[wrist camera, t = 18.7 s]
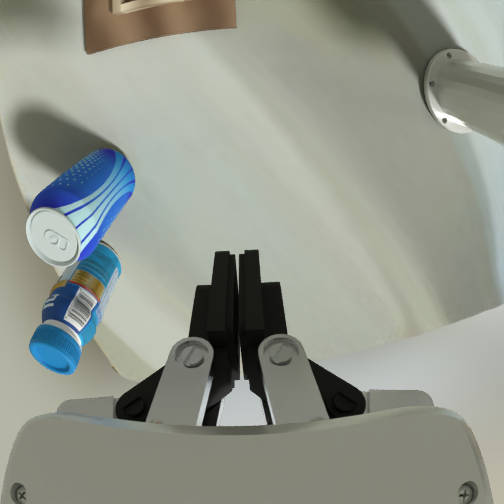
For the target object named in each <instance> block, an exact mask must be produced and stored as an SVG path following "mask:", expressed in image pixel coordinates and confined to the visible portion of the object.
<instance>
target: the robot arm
mask: <svg viewBox="0 0 504 504" xmlns="http://www.w3.org/2000/svg"><path fill="white" fill-rule="evenodd" d="M429 83H430V84H429ZM424 94H425V99H426V103H427V105H428V108H429V110H430V112H431V114H432V116H433V117H434V119H435V120H436V121H437V122H438V123H439V124H440V125H441V126H442V127H444V128H445V129H447V130H449V131H451V132H454V133H458V134H466V133H469V132H472V131H476V132H478V133H480V134H482V135H484V136H486V137H488V138H490V139H492V140H494V141H495V142H497V143H499V144H501V145H503V146H504V67H499V66H494V65H489V64H484V63H479V62H478V61H477V60H476V58H475V57H473V56H472V55H471V54H469V53H467V52H465V51H463V50H460V49H444V50H442V51H440V52H438V53H437V54H436V55H434V56H433V58H432V59H431V60H430V62H429V64H428V66H427V68H426V72H425V76H424ZM240 347H241V356H242V364H243V373H244V379H245V380H249V382H250V383H249V384H250V390H251V391H252V392H253V393H255V394H256V395H257V396H259V397H260V402H261V406H262V410H263V415H264V419H265V423H266V425H262V426H220V421H221V416H222V411H223V406H224V397H225V396H226V395H227V394H229V393H230V392H231V391H232V388H234V381H235V380H240ZM0 504H493V498H492V494H491V489H490V484H489V480H488V476H487V471H486V468H485V464H484V461H483V458H482V455H481V452H480V449H479V446H478V444H477V441H476V439H475V436H474V435H473V432H472V430H471V429H470V427H469V425H468V423H467V422H466V421H465V419H464V418H463V417H462V416H461V415H460V414H458V413H457V412H454V411H452V410H449V409H445V408H440V407H435V406H434V404H433V401H432V398H431V397H430V396H429V395H428V394H427V393H425V392H423V391H419V390H369V392H361V391H359V390H358V389H357V388H356V387H354V386H352V385H351V384H349V383H347V382H346V381H344V380H342V379H341V378H339V377H337V376H336V375H334V374H332V373H331V372H329V371H327V370H326V369H324V368H323V367H321V366H319V365H318V364H316V363H314V362H313V361H311V360H310V359H308V358H307V356H306V353H305V351H304V348H303V346H302V344H301V342H300V341H299V340H297V339H296V338H295V337H293V336H290V335H288V334H287V327H286V320H285V313H284V306H283V300H282V293H281V286H280V282H267V283H261V277H260V264H259V251H258V250H245V254H239V293H238V282H237V271H236V260H235V254H233V255H230V252H229V251H218V252H215V257H214V266H213V274H212V283H211V285H197V287H196V292H195V298H194V304H193V311H192V317H191V324H190V330H189V337H188V338H184V339H182V340H180V341H178V342H177V343H176V344H175V345H174V346H173V347H172V349H171V351H170V354H169V356H168V359H167V362H166V365H165V366H163V367H162V368H160V369H159V370H158V371H156V372H155V373H153V374H152V375H150V376H149V377H148V378H146V379H145V380H143V381H142V382H140V383H139V384H138V385H136V386H135V387H133V388H132V389H130V390H129V391H127V392H126V393H124V394H123V395H122V396H121V397H120V398H114V397H113V396H110V397H99V398H87V399H74V400H73V399H72V400H67V401H65V402H63V403H62V404H61V405H60V406H59V407H58V409H57V413H49V414H44V415H40V416H37V417H34V418H32V419H30V420H28V421H27V422H26V423H25V424H24V425H23V426H22V428H21V429H20V431H19V432H18V434H17V437H16V439H15V442H14V444H13V447H12V450H11V453H10V457H9V461H8V464H7V468H6V472H5V477H4V483H3V489H2V495H1V503H0Z"/></svg>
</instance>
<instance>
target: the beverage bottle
mask: <svg viewBox="0 0 504 504" xmlns="http://www.w3.org/2000/svg"><path fill="white" fill-rule="evenodd" d="M121 270H122V266H121V261H120V259H119V257H118V255H117V254H116V252H115V251H114V250H113V249H112V248H110V247H109V246H107V245H106V244H104V243H101V242H99V243H98V245H97V247H96V248H95V250H94V251H93V252H92V254H91V255H89V256H88V257H87V258H85V259H83V260H81V261H77V262H75V263H74V264H72V265H71V266H68V267H67V268H66V269H65V271H64V272H63V274H62V275H61V277H60V279H59V280H58V282H57V283H56V284H55V285H54V286H53V288H52V290H51V292H50V296H49V298H48V299H47V300H46V301H45V303H44V305H43V310H42V324H40V325H39V326H38V327H37V329H36V331H35V332H34V335H33V337H32V338H31V340H30V344H29V349H30V352H31V354H32V355H33V356H34V358H35V359H36V360H37V361H38V362H39V363H40V364H42V365H43V366H44V367H46V368H48V369H50V370H51V371H54V372H56V373H59V374H64V375H69V374H72V373H73V372H74V371H75V369H76V367H77V365H78V362H79V359H80V356H81V347H82V346H84V345H85V344H87V343H88V342H89V341H90V340H91V339H92V338H93V337H94V335H95V333H96V327H97V326H98V325H99V324H100V322H101V320H102V318H103V314H104V310H105V308H106V305H107V303H108V301H109V298H110V296H111V293H112V291H113V289H114V287H115V284H116V282H117V280H118V278H119V276H120V274H121Z"/></svg>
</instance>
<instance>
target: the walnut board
mask: <svg viewBox="0 0 504 504" xmlns="http://www.w3.org/2000/svg"><path fill="white" fill-rule="evenodd" d="M84 20H85V39H86V53H87V54H93V53H96V52H100V51H103V50H107V49H110V48H114V47H118V46H122V45H126V44H130V43H134V42H138V41H143V40H148V39H153V38H158V37H163V36H169V35H175V34H182V33H189V32H197V31H205V30H216V29H228V28H236V6H235V0H84Z"/></svg>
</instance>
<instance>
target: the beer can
mask: <svg viewBox="0 0 504 504" xmlns="http://www.w3.org/2000/svg"><path fill="white" fill-rule="evenodd" d="M134 187H135V174H134V170H133V168H132V166H131V164H130V162H129V161H128V160H127V159H126V158H125V157H124V156H123V155H122V154H121V153H119V152H117V151H115V150H112V149H98V150H95V151H93V152H91V153H90V154H88V155H87V156H86V157H84V158H83V159H81V160H80V161H79V162H77V163H76V164H75V165H73V166H72V167H71V168H70V169H68V170H67V171H66V172H64V173H63V174H62V175H61V176H59V177H58V178H57V179H56V180H54V181H53V182H52V183H51V184H50V185H48V186H47V187H46V188H45V189H44V190H42V191H41V192H40V193H39V194H38V195H37V196H36V198H35V199H34V201H33V203H32V206H31V209H30V215H29V216H28V219H27V221H26V235H27V239H28V241H29V244H30V246H31V247H32V249H33V250H34V252H35V253H36V254H37V255H38V256H39V257H40V258H41V259H42V260H44V261H45V262H46V263H48V264H50V265H53V266H56V267H68V266H71V265H72V264H74V263H75V262H77V261H81V260H83V259H85V258H87V257H88V256H89V255H91V254H92V252H93V251H94V250H95V248H96V247H97V245H98V243H99V242H100V240H101V239H102V237H103V236H104V234H105V233H106V231H107V230H108V228H109V227H110V225H111V224H112V222H113V221H114V219H115V218H116V216H117V215H118V214H119V212H120V211H121V209H122V208H123V206H124V205H125V204H126V202H127V201H128V200H129V198H130V197H131V195H132V193H133V191H134Z"/></svg>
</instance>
